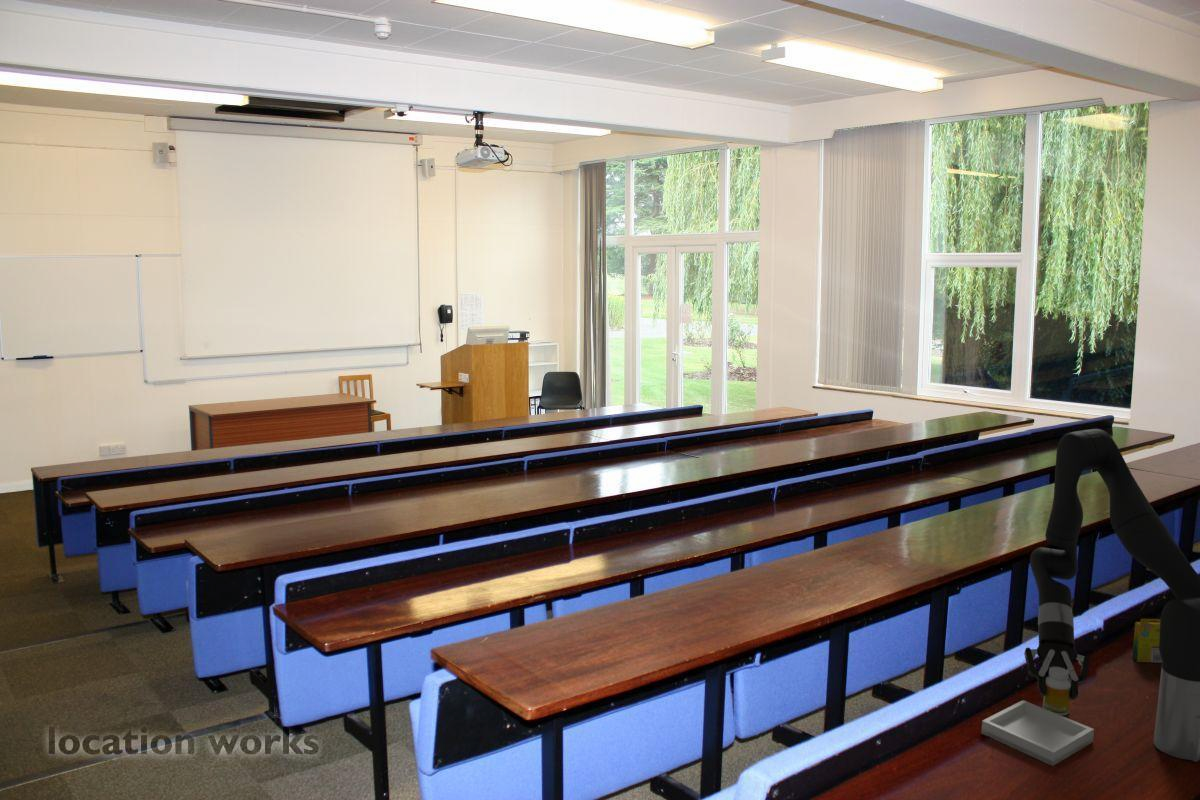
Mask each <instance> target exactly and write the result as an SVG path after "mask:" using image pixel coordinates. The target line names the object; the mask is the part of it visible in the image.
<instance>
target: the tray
mask: <svg viewBox="0 0 1200 800" xmlns="http://www.w3.org/2000/svg"><path fill="white" fill-rule="evenodd" d="M1094 731H1095V729H1094V728H1092V727H1090V726H1087V725H1085V724H1082V723H1080V722H1078V721H1075V720H1073V719H1070V718H1068V717H1065V716H1064V715H1063V716H1061V715H1058V714H1056V713H1053V712H1051V711H1049V710H1046V709H1044V708H1043V707H1041V706H1039V705H1036V704H1034V703H1031V702H1029V701H1026V700H1025V699H1022V700H1021V701H1019V702H1018V701H1017V702H1016V703H1014V704H1012V705H1011V706H1008V707H1007V708H1004V709H1002V710H1001V711H999V712H997V713H995V714H992V715H991V716H989V717H987V718H985V719H983V720H982V721H981V732H980V733H981V734H982V735H984V736H986V737H988V736H989V737H988V738H990V737H991V739H992V738H993V740H995V741H997V742H999V743H1001V744H1003V745H1005V744H1006V746H1008V747H1010V748H1011V749H1015V750H1017V751H1018V752H1021V753H1023V754H1025V755H1028V756H1030V757H1032V758H1034V759H1036V760H1039V761H1041V762H1043V763H1045V764H1047V765H1049V766H1051V767H1054V766H1055V765H1057V764H1058V763H1061V762H1062V761H1064V760H1065V759H1068V758H1069V757H1071V756H1072V755H1074V754H1076V753H1077V752H1079V751H1081V750H1082V749H1084V748H1086V747H1088V746H1089V745H1090V744H1092V743H1093V742H1094V735H1095V734H1094Z"/></svg>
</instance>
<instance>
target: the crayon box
mask: <svg viewBox="0 0 1200 800" xmlns="http://www.w3.org/2000/svg"><path fill="white" fill-rule="evenodd" d="M1160 619H1161V618H1140V620H1139V621H1135V623H1134V634H1133V645H1132V655H1131V657H1132V659H1133V660H1135V661H1136V663H1159V664H1160V663H1161V664H1162V658H1161V655H1160V652H1159V638H1160Z"/></svg>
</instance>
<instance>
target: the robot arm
mask: <svg viewBox="0 0 1200 800" xmlns="http://www.w3.org/2000/svg"><path fill="white" fill-rule="evenodd" d="M1092 470H1096V472H1097V473H1098V474H1099V475H1100V477H1101V479H1102V481H1103V482H1104V485H1105V486H1106V487H1107V490H1108V494H1109V522H1110V525H1111V527H1112V529H1113V531H1114V533H1115V535H1116V536H1117V537H1118V539H1119V541H1120V543H1121V545H1123V548H1124V549H1125V550H1126V551H1127V553H1128V554H1129V555H1130V556H1131V557H1133V558H1134V560H1136V561H1137V562H1138V563H1139V564H1141V565H1142V566H1144V567H1145V568H1147V570H1149V571H1151V572H1152V573H1153V574H1154V575H1156V576H1157V577H1158V578H1159V579H1160V580H1161V581H1162V582H1164V583H1165V585H1166V586H1167V587H1168V588H1169V590H1170V591H1171V593H1172V594H1173V596H1174V597H1175V599H1171V600H1169V601H1167V603H1165V605H1164V606H1163V608H1162V611H1161V614H1160V618H1159V619H1160V622H1159V623H1160V638H1159V652H1160V655H1161V658H1162V663H1161V669H1160V670H1161V671H1160V680H1159V688H1158V698H1157V707H1156V716H1155V726H1154V732H1153V733H1154V734H1153V736H1154V737H1153V745H1154V746H1155V748H1157V749H1158V750H1159V751H1160V752H1163V754H1166V755H1169V756H1171V757H1174V758H1178V759H1182V760H1189V761H1192V762H1193V763H1194V762H1195V763H1198V762H1199V761H1200V575H1199V573H1198V572H1197V571H1196V570H1195V569H1194V567H1193V566H1192V564H1191V563H1190V561H1188V558H1187V557H1186V556H1185V554H1184V553H1183V552H1182V550H1181V548H1180V547H1179V545H1178V544H1177V543H1176V541H1175V540H1174V538H1173V537H1172V535H1171V533H1170V532H1169V530H1168V528H1167V527H1166V525H1165V523H1164V522H1163V521H1162V518H1160V516H1159V515H1158V513H1157V512H1156V511H1155V509H1154V508H1153V506H1152V505H1151V503H1150V502H1149V500H1148V498H1147V497H1146V496H1145V494H1144V493H1143V491H1142V489H1141V487H1140V485H1139V483H1138V482H1137V481H1136V479H1135V477H1134V476H1133V473H1132V472H1131V470H1130V468H1129V466H1128V465H1127V462H1126V460H1125V458H1124V456H1123V454H1122V452H1121V451H1120V449H1119V447H1118V445H1117V444H1116V442H1115V440H1114V439H1113V437H1112V435H1110V434H1109V433H1108V432H1107V431H1105V430H1103V429H1101V428H1092V429H1091V428H1089V429H1083V430H1077V431H1076V430H1075V431H1072V432H1067V433H1065V434H1064V435H1062V437H1061V438H1060V440H1059V441H1058V445H1057V449H1056V457H1055V470H1054V471H1055V472H1054V485H1053V486H1054V487H1053V499H1052V500H1053V501H1052V506H1051V511H1050V515H1049V519H1048V523H1047V525H1046V526H1047V527H1046V529H1045V530H1046V531H1045V535H1044V536H1045V539H1046V541H1047V542H1048V543H1049V544H1050V545H1052V546H1054V547H1057V549H1055V548H1049V547H1042V546H1041V547H1036V548H1035V549H1034V550H1033V551H1032V552H1031V554H1030V557H1029V563H1030V569H1031V571H1032V574H1033V578H1034V581H1035V584H1036V587H1037V591H1038V616H1037V619H1038V620H1037V625H1038V629H1037V630H1038V646H1037V648H1032V649H1031V648H1030V647H1026V648H1025V649H1024V653H1023V654H1024V659H1025V664H1026V668H1027V671H1028V675H1029V676H1030V677H1034V678H1035V679H1037V692H1038V694H1040V696H1041V697H1043V696H1045V694H1046V686H1045V679H1046V676H1045V675H1046V674H1047V672H1048V670H1049V668H1051V667H1060V668H1064V669H1066V670H1067V671H1068V672H1069V675H1068V680H1069V681H1070V683H1071V692H1070V701H1075V699H1077V698H1078V696H1079V684H1085V683H1086V680H1087V678H1088V674H1089V668H1090V663H1091V657H1090V655H1087V654H1086V655H1081V654H1078V653H1077V650H1076V647H1075V646H1076V645H1075V628H1074V627H1075V626H1074V624H1075V623H1074V615H1073V610H1072V609H1073V606H1072V603H1073V601H1072V592H1071V589H1070V587H1069V586H1068V585H1066V584H1064V583H1062V582H1060V581H1057V580H1054V579H1058V580H1064V581H1069V580H1072V579H1074V577H1075V576H1076V575H1077V574H1078V571H1079V562H1078V552H1077V551H1078V540H1079V535H1080V532H1081V530H1082V525H1083V520H1084V510H1083V509H1084V508H1083V506H1082V503H1081V500H1080V498H1079V494H1078V483H1079V480H1080V477H1081V475H1082V474H1083V472H1087V471H1092ZM1058 548H1059V549H1058ZM1036 655H1037V657H1039V658H1040V660H1041V661H1042V665H1041V667H1040V669H1039V670H1038V669H1036V665H1035V660H1034V659H1036ZM1076 660H1077V661H1078V665H1079V666H1081V668H1080V669H1081V670H1080V674H1079V675H1077V673H1076V671H1075V667H1074V666H1073V663H1075V661H1076Z"/></svg>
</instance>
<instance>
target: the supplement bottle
mask: <svg viewBox="0 0 1200 800" xmlns="http://www.w3.org/2000/svg"><path fill="white" fill-rule="evenodd" d="M1068 675H1069V672H1068V671H1067V670H1066V669H1064V668H1060V667H1051V668H1049V667H1048V676H1045V686H1046V694H1045V696H1042V697H1043V699H1042V708H1044V709H1046V710H1049V711H1051V712H1053V713H1056V714H1058V715H1061V716H1063V717H1064V716H1067V715H1068V714H1069V712H1070V703H1071V700H1070V692H1071V682H1070V680H1069V678H1068Z"/></svg>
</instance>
